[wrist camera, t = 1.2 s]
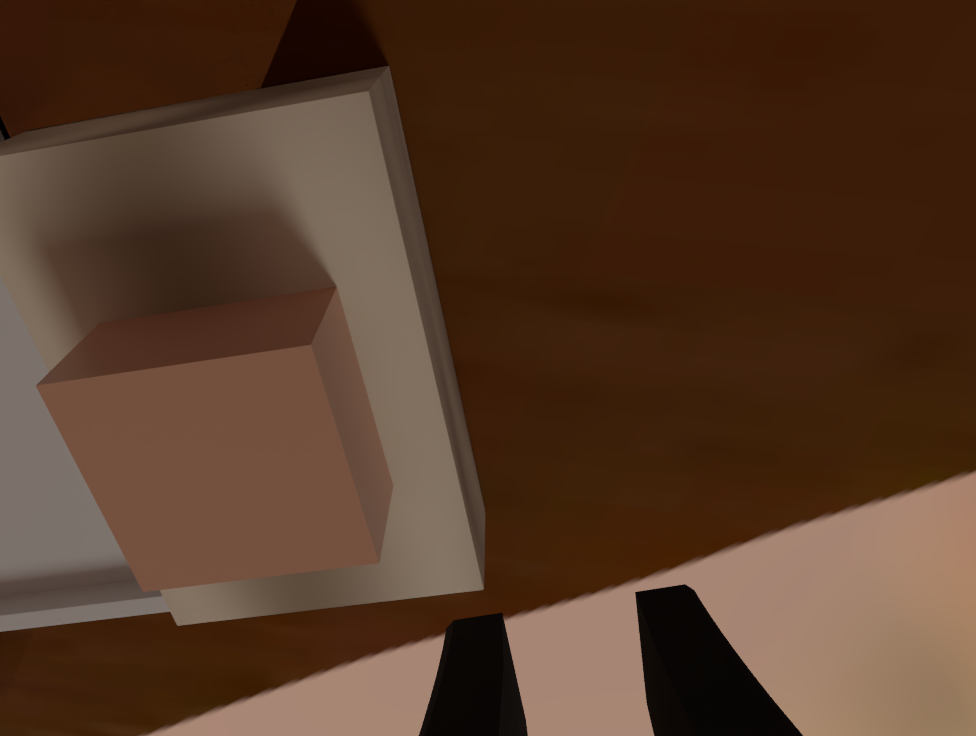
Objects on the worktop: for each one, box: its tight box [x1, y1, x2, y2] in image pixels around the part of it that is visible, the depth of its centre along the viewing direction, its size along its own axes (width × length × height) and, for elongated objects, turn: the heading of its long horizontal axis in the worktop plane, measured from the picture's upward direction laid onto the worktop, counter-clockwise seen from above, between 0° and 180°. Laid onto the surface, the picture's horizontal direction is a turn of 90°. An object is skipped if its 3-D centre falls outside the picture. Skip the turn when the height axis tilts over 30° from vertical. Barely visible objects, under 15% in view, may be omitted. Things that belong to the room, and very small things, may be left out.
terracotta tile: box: [36, 287, 393, 592], centre depth 16 cm, size 5×5×2 cm
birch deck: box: [0, 66, 485, 626], centre depth 18 cm, size 8×12×3 cm, turn 10°
